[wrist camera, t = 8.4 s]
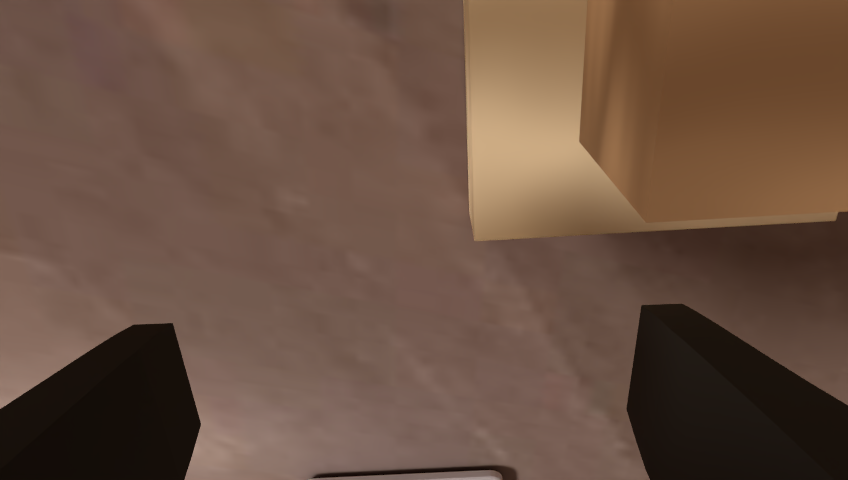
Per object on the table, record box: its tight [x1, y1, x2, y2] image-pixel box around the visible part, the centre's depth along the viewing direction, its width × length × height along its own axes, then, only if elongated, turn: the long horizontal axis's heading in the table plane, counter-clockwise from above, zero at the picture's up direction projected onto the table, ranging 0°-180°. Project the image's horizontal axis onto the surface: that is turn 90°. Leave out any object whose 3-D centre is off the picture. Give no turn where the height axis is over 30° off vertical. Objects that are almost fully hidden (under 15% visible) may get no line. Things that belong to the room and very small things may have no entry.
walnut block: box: [579, 0, 848, 223], centre depth 12 cm, size 4×4×5 cm
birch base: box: [463, 0, 838, 241], centre depth 15 cm, size 10×10×2 cm
